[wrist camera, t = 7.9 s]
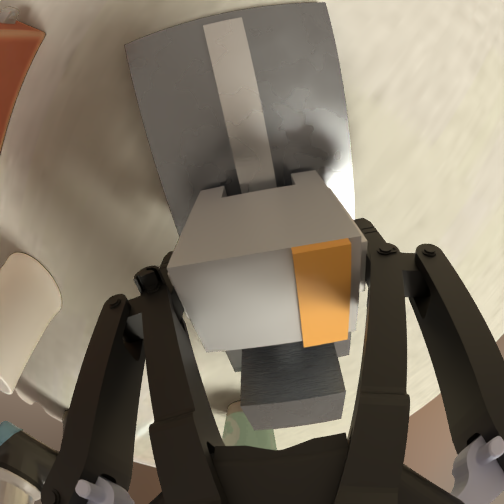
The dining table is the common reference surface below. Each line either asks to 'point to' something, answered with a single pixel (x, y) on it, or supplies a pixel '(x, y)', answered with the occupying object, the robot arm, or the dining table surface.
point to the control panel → (14, 60)
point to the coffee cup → (245, 431)
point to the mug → (23, 313)
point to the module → (269, 266)
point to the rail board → (283, 97)
